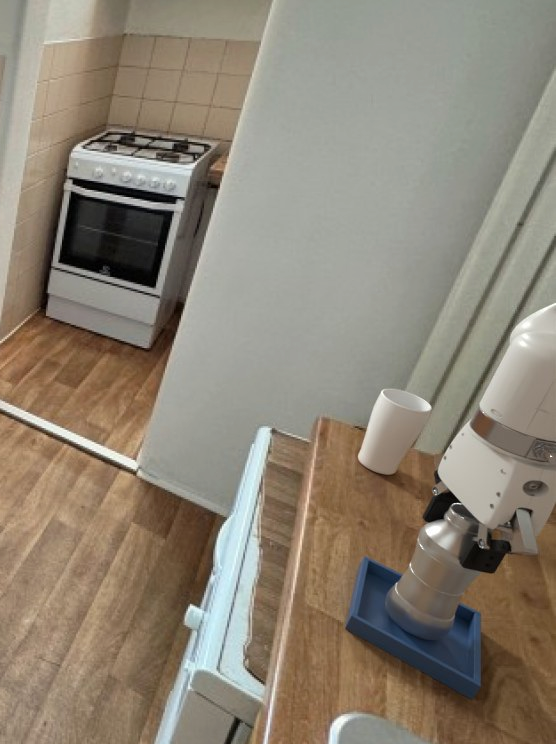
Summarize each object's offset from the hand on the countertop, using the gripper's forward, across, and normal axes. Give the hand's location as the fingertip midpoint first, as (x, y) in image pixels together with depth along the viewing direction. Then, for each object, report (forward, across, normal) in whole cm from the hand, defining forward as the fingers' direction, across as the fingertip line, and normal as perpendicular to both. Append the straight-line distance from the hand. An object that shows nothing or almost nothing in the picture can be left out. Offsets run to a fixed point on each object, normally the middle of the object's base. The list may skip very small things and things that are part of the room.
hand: (456, 544), depth 77 cm
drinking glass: (+16, +36, -13) cm, 41 cm away
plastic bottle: (+15, 0, 0) cm, 15 cm away
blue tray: (+16, 0, 0) cm, 16 cm away
